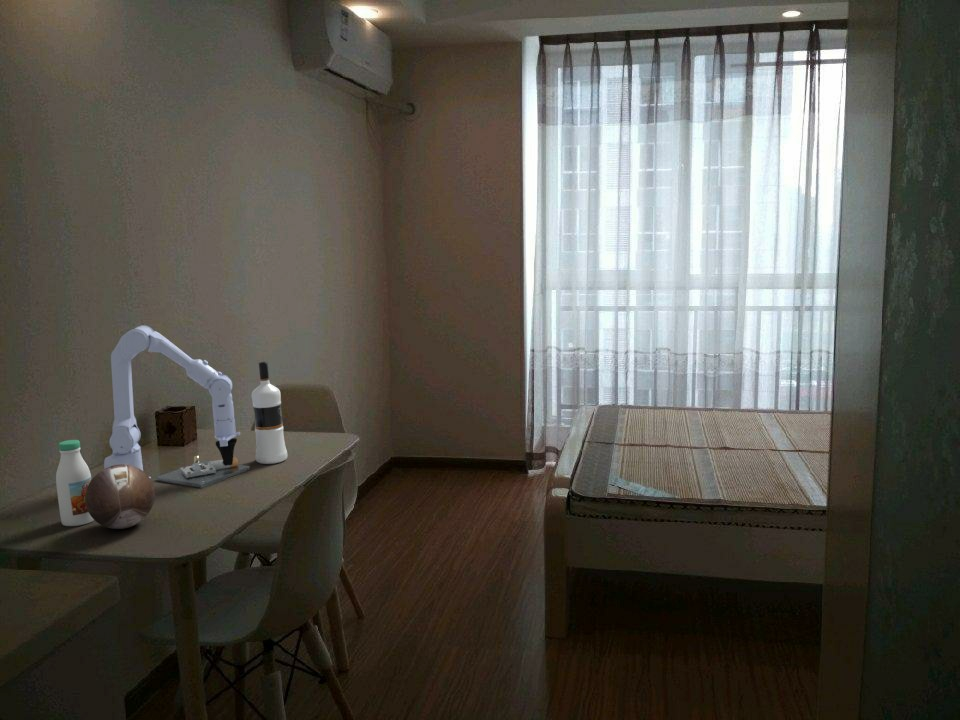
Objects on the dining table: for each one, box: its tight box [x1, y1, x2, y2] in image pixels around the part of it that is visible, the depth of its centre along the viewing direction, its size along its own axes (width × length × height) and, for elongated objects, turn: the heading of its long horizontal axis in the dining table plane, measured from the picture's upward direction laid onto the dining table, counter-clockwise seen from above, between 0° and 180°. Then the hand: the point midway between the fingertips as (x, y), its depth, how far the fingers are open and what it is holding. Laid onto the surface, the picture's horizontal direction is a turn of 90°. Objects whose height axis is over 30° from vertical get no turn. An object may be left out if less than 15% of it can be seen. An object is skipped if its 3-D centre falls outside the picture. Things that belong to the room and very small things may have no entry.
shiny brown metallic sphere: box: [85, 464, 156, 530], centre depth 192 cm, size 15×15×15 cm
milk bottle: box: [55, 439, 95, 527], centre depth 197 cm, size 8×8×20 cm
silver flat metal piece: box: [179, 456, 240, 478], centre depth 233 cm, size 15×8×2 cm, turn 120°
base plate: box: [155, 455, 251, 489], centre depth 233 cm, size 18×18×4 cm
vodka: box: [250, 361, 289, 465], centre depth 242 cm, size 9×9×30 cm
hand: (228, 464), depth 234 cm, fingers closed, pressing on silver flat metal piece
